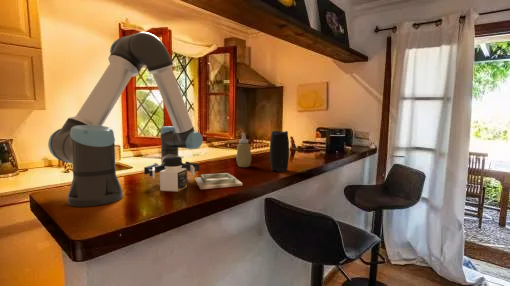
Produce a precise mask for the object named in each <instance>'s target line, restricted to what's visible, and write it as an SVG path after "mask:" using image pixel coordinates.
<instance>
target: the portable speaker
mask: <svg viewBox="0 0 510 286" xmlns="http://www.w3.org/2000/svg"><path fill="white" fill-rule="evenodd" d="M288 134H289V132H288V130H285V131H282V130H281V131H280V130H272V131H271V134H270V135H271V136H270V140H269V141H270V142H269V161H270V168H271V171H276V172H277V173H284V172H285V173H286V171H288V168H289V159H290V140H289V135H288Z"/></svg>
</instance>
